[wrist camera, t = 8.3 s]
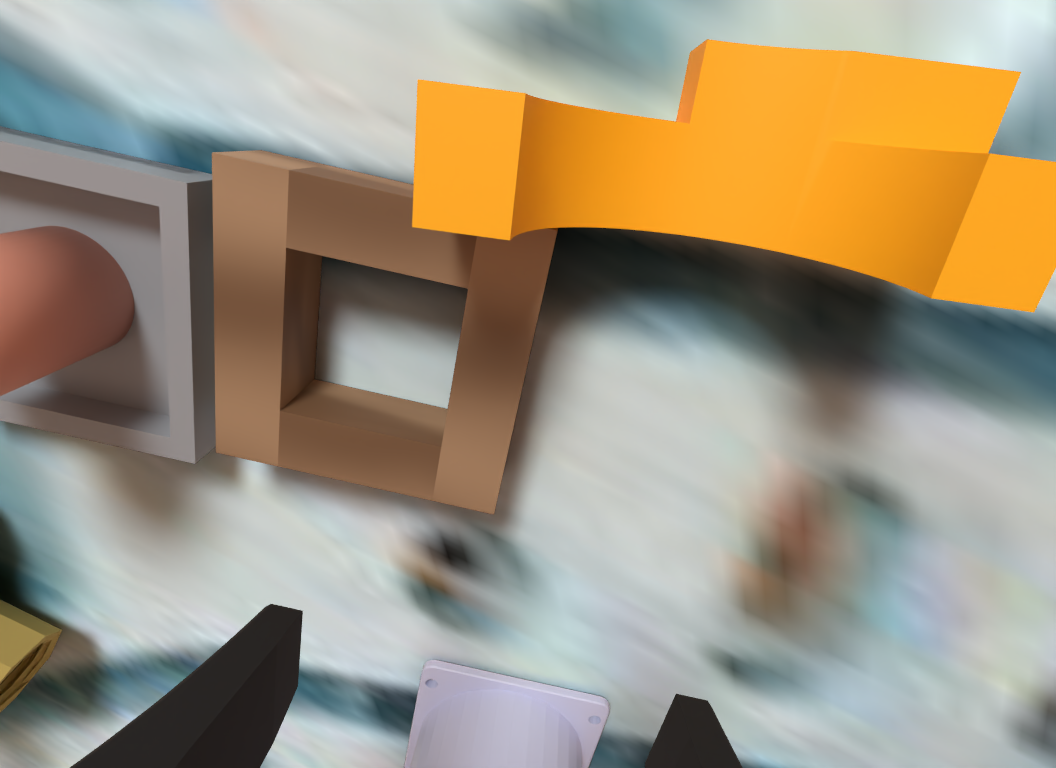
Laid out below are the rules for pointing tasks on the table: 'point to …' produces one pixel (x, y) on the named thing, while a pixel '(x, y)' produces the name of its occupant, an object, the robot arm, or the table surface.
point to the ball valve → (22, 649)
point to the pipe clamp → (765, 168)
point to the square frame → (292, 323)
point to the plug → (57, 302)
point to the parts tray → (157, 286)
